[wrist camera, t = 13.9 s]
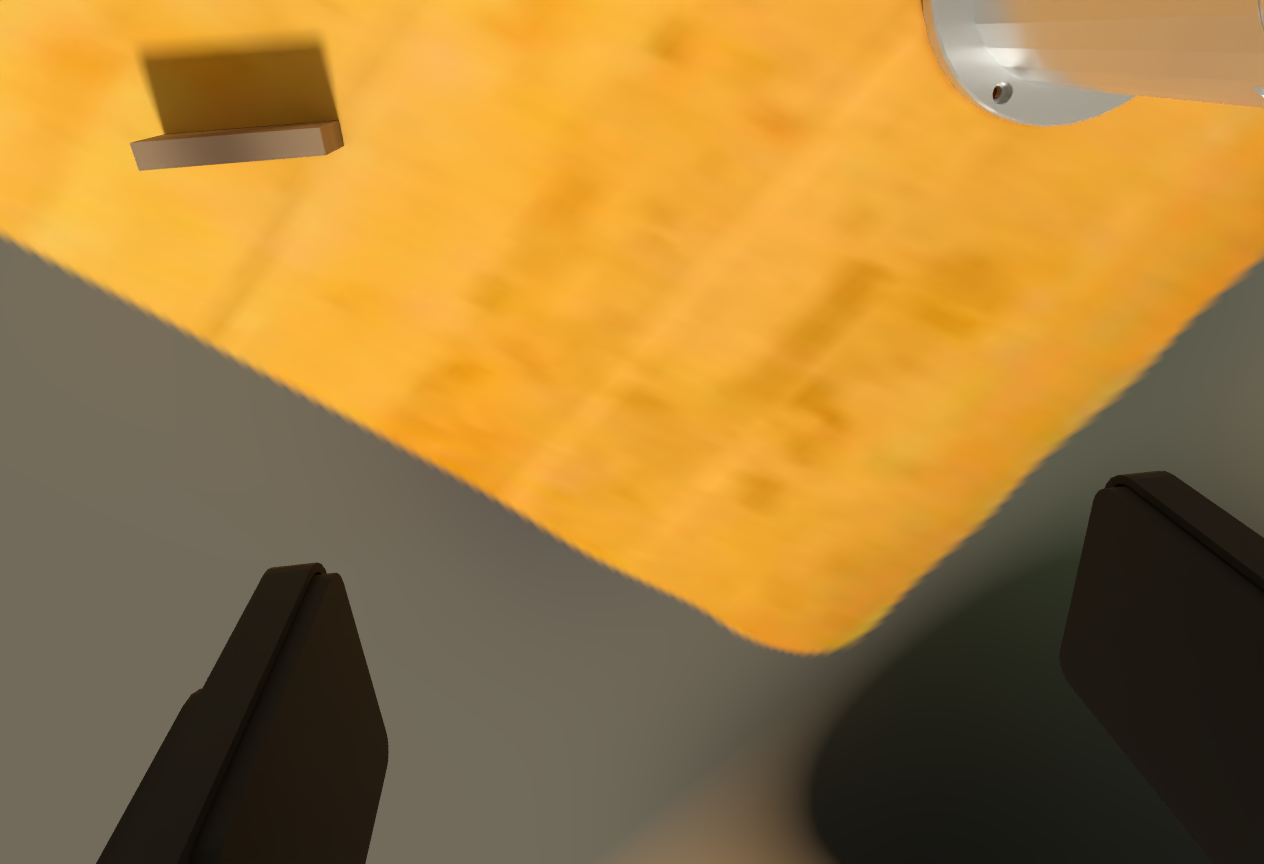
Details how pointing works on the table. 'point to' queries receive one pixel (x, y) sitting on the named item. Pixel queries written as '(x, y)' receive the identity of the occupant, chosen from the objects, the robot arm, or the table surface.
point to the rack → (237, 145)
